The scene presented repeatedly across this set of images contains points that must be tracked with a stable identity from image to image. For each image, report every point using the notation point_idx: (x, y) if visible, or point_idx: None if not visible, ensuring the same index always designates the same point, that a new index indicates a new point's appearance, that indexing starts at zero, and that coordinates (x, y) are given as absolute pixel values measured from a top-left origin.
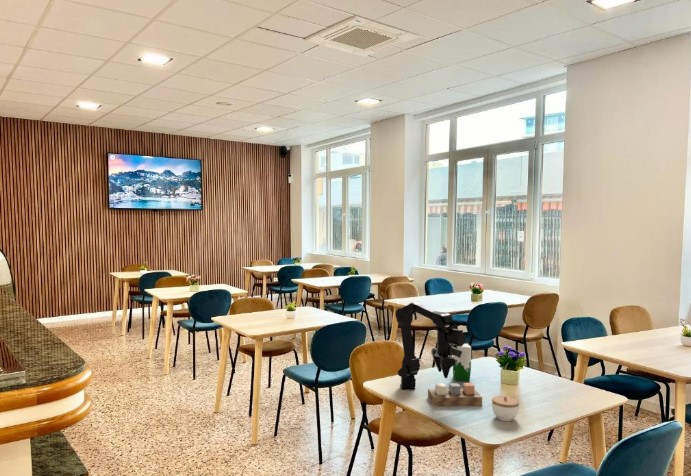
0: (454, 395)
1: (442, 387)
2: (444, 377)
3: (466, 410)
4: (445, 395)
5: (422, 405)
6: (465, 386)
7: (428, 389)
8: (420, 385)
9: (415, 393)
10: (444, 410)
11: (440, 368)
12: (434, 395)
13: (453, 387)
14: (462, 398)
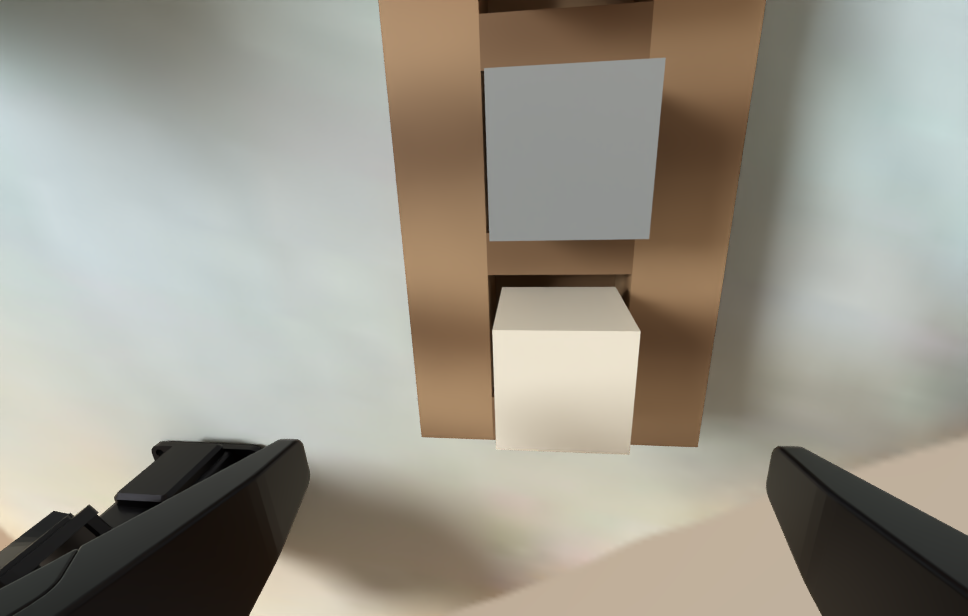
0: (654, 182)
1: (630, 380)
2: (784, 507)
3: (841, 72)
4: (641, 303)
5: (626, 472)
6: None
7: (432, 435)
8: (139, 376)
9: (347, 459)
10: (780, 322)
11: (261, 509)
12: None
13: (647, 204)
14: (746, 78)
